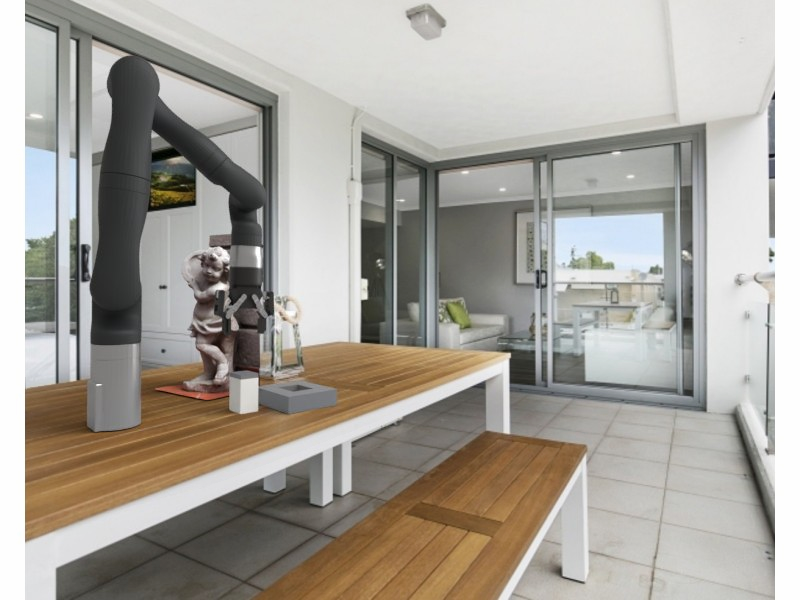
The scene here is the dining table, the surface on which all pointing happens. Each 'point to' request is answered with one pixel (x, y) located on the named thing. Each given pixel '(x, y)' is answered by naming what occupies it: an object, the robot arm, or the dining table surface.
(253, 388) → the plug
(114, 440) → the dining table surface
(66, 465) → the dining table surface
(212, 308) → the cherub statue
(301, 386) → the grey square socket
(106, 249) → the robot arm
